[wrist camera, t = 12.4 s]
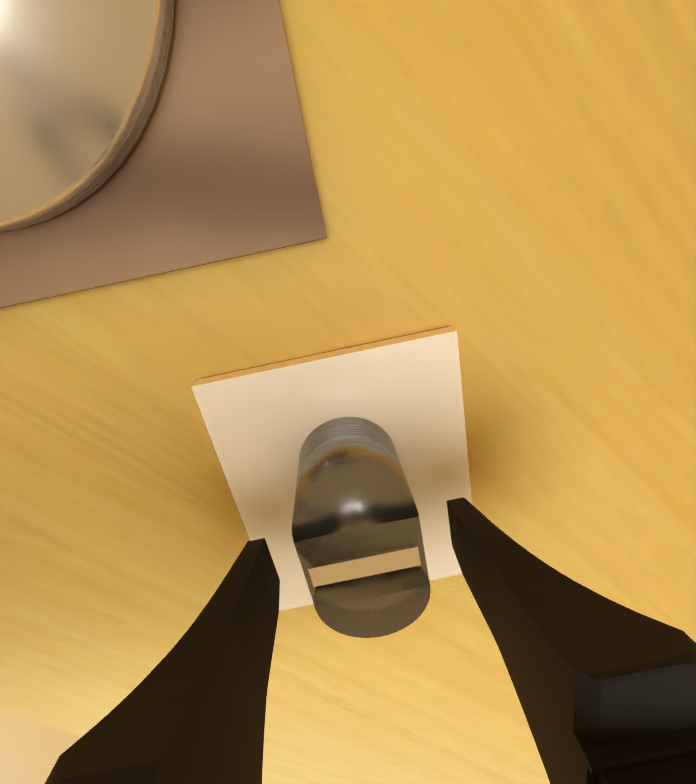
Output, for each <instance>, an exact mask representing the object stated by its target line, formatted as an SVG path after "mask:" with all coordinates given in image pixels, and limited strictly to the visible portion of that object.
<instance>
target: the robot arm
mask: <svg viewBox="0 0 696 784" xmlns="http://www.w3.org/2000/svg"><path fill="white" fill-rule="evenodd" d="M447 509H448V518H449V526H450V534H451V542H452V547H453V550H454V552H455V555H456V558H457V561H458V563H459V566H460V569H461V571H462V574H463V576H464V578H465V580H466V582H467V584H468V586H469V588H470V590H471V592H472V594H473V596H474V598H475V600H476V602H477V604H478V606H479V608H480V610H481V612H482V614H483V616H484V618H485V620H486V622H487V624H488V626H489V628H490V630H491V632H492V634H493V636H494V639H495V641H496V643H497V645H498V647H499V650H500V652H501V654H502V657H503V659H504V662H505V665H506V667H507V670H508V672H509V675H510V677H511V680H512V682H513V685H514V687H515V690H516V693H517V695H518V698H519V700H520V703H521V706H522V708H523V711H524V713H525V716H526V719H527V721H528V724H529V727H530V729H531V732H532V735H533V737H534V740H535V743H536V745H537V748H538V751H539V754H540V756H541V759H542V762H543V764H544V767H545V770H546V773H547V775H548V778H549V781H550V784H696V643H695V642H694V641H693V640H692V639H691V638H690V637H689V636H688V635H687V634H686V633H685V632H684V631H682V630H679V629H677V628H674V627H672V626H669V625H667V624H664V623H662V622H659V621H657V620H654V619H652V618H649V617H647V616H645V615H642V614H640V613H637V612H635V611H633V610H631V609H629V608H626V607H624V606H622V605H620V604H618V603H616V602H613V601H611V600H609V599H607V598H605V597H603V596H601V595H599V594H598V593H596V592H594V591H592V590H590V589H588V588H586V587H584V586H583V585H581V584H579V583H577V582H575V581H573V580H572V579H570V578H568V577H567V576H565V575H563V574H561V573H560V572H558V571H557V570H555V569H554V568H552V567H550V566H549V565H547V564H546V563H544V562H543V561H541V560H540V559H538V558H537V557H535V556H534V555H533V554H531V553H530V552H528V551H527V550H526V549H524V548H523V547H522V546H520V545H519V544H518V543H516V542H515V541H514V540H512V539H511V538H510V537H509V536H508V535H506V534H505V533H504V532H503V531H501V530H500V529H499V528H498V527H497V526H495V525H494V524H493V523H492V522H491V521H490V520H488V519H487V518H486V517H485V516H484V515H483V514H482V513H481V512H480V511H478V510H477V509H476V508H475V507H474V506H473V505H472V504H471V503H470V502H469V501H468V500H467V499H465V498H464V497H462V498H457V499H452V500H447ZM279 597H280V579H279V576H278V573H277V570H276V568H275V565H274V562H273V559H272V557H271V554H270V551H269V548H268V546H267V543H266V540H265V538H262V539H257V540H252V541H248V542H247V544H246V545H245V547H244V548H243V550H242V551H241V553H240V555H239V556H238V558H237V559H236V561H235V563H234V564H233V566H232V567H231V569H230V571H229V572H228V574H227V575H226V577H225V578H224V580H223V581H222V583H221V584H220V586H219V587H218V589H217V590H216V592H215V593H214V595H213V596H212V598H211V599H210V601H209V602H208V604H207V605H206V606H205V608H204V609H203V610H202V612H201V613H200V615H199V616H198V617H197V619H196V620H195V621H194V623H193V624H192V625H191V627H190V628H189V629H188V631H187V632H186V633H185V634H184V635H183V637H182V638H181V639H180V640H179V641H178V643H177V644H176V645H175V646H174V647H173V649H172V650H171V651H170V652H169V653H168V654H167V655H166V656H165V658H164V659H163V660H162V661H161V662H160V663H159V664H158V665H157V666H156V667H155V668H154V669H153V670H152V671H151V673H150V674H149V675H148V676H147V677H146V678H145V679H144V680H143V681H142V682H141V683H140V684H139V685H138V686H137V687H136V688H135V689H134V690H133V691H132V692H131V693H130V694H129V695H128V696H127V697H126V698H125V699H124V700H123V701H122V702H121V703H120V704H119V705H117V706H116V707H115V708H114V709H113V710H112V711H111V712H110V713H109V714H108V715H107V716H106V717H104V718H103V719H102V720H101V721H100V722H99V723H98V724H97V725H95V726H94V727H93V728H92V729H91V730H90V731H88V732H87V733H86V734H85V735H84V736H83V737H81V738H80V739H79V740H78V741H77V742H76V743H74V744H73V745H72V746H71V747H70V748H69V749H67V750H66V751H65V752H64V753H62V754H61V755H60V756H59V758H58V760H57V762H56V764H55V766H54V767H53V769H52V771H51V773H50V775H49V777H48V779H47V781H46V783H45V784H262V764H263V743H264V725H265V710H266V696H267V687H268V679H269V673H270V666H271V660H272V653H273V647H274V640H275V633H276V627H277V620H278V613H279Z"/></svg>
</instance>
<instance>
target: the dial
mask: <svg viewBox="0 0 696 784" xmlns="http://www.w3.org/2000/svg"><path fill="white" fill-rule="evenodd" d="M173 13H174V0H0V232H2V231H8V230H14V229H20V228H24V227H27V226H30V225H33V224H36V223H39V222H42V221H45V220H48V219H51V218H53V217H55V216H57V215H59V214H61V213H63V212H64V211H66V210H68V209H70V208H72V207H74V206H76V205H77V204H79V203H80V202H81V201H83V200H84V199H85V198H87V197H88V196H89V195H91V194H92V193H93V192H95V191H96V190H97V189H98V188H100V187H101V186H102V185H103V184H104V183H105V182H106V181H107V179H108V178H109V177H110V176H111V175H112V174H113V173H114V172H115V171H116V170H117V169H118V168H119V167H120V166H121V164H122V163H123V161H124V160H125V158H126V157H127V155H128V154H129V152H130V151H131V150H132V148H133V147H134V145H135V144H136V142H137V141H138V139H139V138H140V135H141V133H142V131H143V129H144V127H145V125H146V123H147V121H148V118H149V116H150V114H151V112H152V110H153V108H154V105H155V102H156V99H157V96H158V92H159V89H160V86H161V83H162V80H163V76H164V73H165V69H166V64H167V58H168V53H169V47H170V41H171V36H172V30H173Z"/></svg>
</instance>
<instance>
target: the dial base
mask: <svg viewBox="0 0 696 784" xmlns="http://www.w3.org/2000/svg"><path fill="white" fill-rule="evenodd" d="M325 238H326V233H325V228H324V223H323V218H322V213H321V208H320V203H319V198H318V193H317V189H316V184H315V179H314V174H313V169H312V164H311V159H310V154H309V149H308V144H307V139H306V134H305V130H304V125H303V120H302V115H301V110H300V105H299V100H298V95H297V90H296V85H295V80H294V75H293V71H292V66H291V61H290V56H289V51H288V46H287V41H286V36H285V31H284V26H283V21H282V16H281V11H280V7H279V2H278V0H174V13H173V30H172V36H171V41H170V47H169V53H168V58H167V64H166V69H165V73H164V76H163V80H162V83H161V86H160V89H159V92H158V96H157V99H156V102H155V105H154V108H153V110H152V112H151V114H150V116H149V118H148V121H147V123H146V125H145V127H144V129H143V131H142V133H141V135H140V138H139V139H138V141H137V142H136V144H135V145H134V147H133V148H132V150H131V151H130V152H129V154H128V155H127V157H126V158H125V160H124V161H123V163H122V164H121V166H120V167H119V168H118V169H117V170H116V171H115V172H114V173H113V174H112V175H111V176H110V177H109V178H108V179H107V181H106V182H105V183H104V184H103V185H102V186H101V187H100V188H98V189H97V190H96V191H95V192H93V193H92V194H91V195H89V196H88V197H87V198H85V199H84V200H83V201H81V202H80V203H79V204H77V205H76V206H74V207H72V208H70V209H68V210H66V211H64V212H63V213H61V214H59V215H57V216H55V217H53V218H51V219H48V220H45V221H42V222H39V223H36V224H33V225H30V226H27V227H24V228H20V229H14V230H8V231H2V232H0V308H3V307H7V306H12V305H17V304H21V303H26V302H31V301H35V300H40V299H45V298H49V297H54V296H59V295H63V294H68V293H73V292H77V291H82V290H87V289H91V288H96V287H101V286H105V285H110V284H115V283H119V282H124V281H129V280H133V279H138V278H143V277H147V276H152V275H157V274H161V273H166V272H171V271H175V270H180V269H185V268H189V267H194V266H199V265H203V264H208V263H213V262H217V261H222V260H227V259H231V258H236V257H241V256H245V255H250V254H255V253H259V252H264V251H269V250H273V249H278V248H283V247H287V246H292V245H297V244H301V243H306V242H311V241H315V240H320V239H325Z"/></svg>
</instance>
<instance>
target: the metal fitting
mask: <svg viewBox="0 0 696 784" xmlns="http://www.w3.org/2000/svg"><path fill="white" fill-rule="evenodd" d="M292 538H293V542H294V545H295V548H296V551H297V554H298V557H299V560H300V563H301V566H302V569H303V572H304V575H305V579H306V582H307V585H308V588H309V591H310V594H311V597H312V600H313V603H314V606H315V609H316V611H317V614H318V615H319V617H320V618H321V620H322V621H323V622H324V623H325V624H326V625H328V626H329V627H330V628H332V629H333V630H335V631H337V632H339V633H342V634H345V635H348V636H353V637H360V638H371V637H380V636H385V635H389V634H392V633H395V632H397V631H399V630H401V629H403V628H405V627H407V626H408V625H410V624H411V623H413V622H414V621H415V620H416V619H417V618H418V617H419V616H420V615H421V614H422V612H423V611H424V609H425V608H426V606H427V604H428V601H429V598H430V582H429V576H428V570H427V563H426V557H425V551H424V545H423V538H422V532H421V526H420V519H419V514H418V510H417V507H416V505H415V502H414V499H413V496H412V494H411V491H410V488H409V485H408V482H407V480H406V477H405V474H404V471H403V469H402V466H401V463H400V460H399V458H398V455H397V452H396V449H395V447H394V444H393V442H392V440H391V438H390V436H389V435H388V434H387V433H386V431H385V430H383V429H382V428H381V427H380V426H378V425H377V424H375V423H373V422H371V421H369V420H366V419H363V418H358V417H341V418H336V419H332V420H329V421H327V422H325V423H323V424H321V425H319V426H318V427H317V428H315V429H314V430H313V431H312V432H311V433H310V434H309V435H308V437H307V438H306V439H305V441H304V443H303V445H302V447H301V451H300V455H299V464H298V474H297V483H296V492H295V501H294V510H293V519H292Z"/></svg>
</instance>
